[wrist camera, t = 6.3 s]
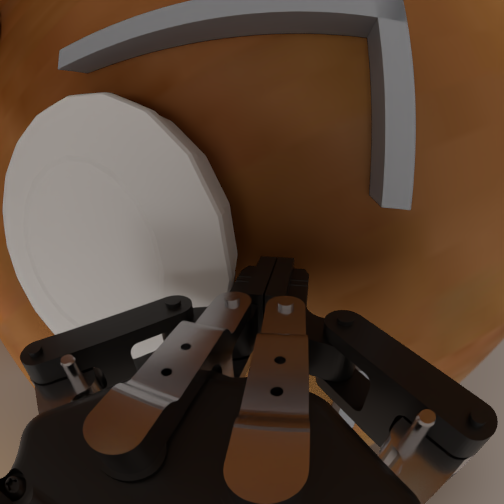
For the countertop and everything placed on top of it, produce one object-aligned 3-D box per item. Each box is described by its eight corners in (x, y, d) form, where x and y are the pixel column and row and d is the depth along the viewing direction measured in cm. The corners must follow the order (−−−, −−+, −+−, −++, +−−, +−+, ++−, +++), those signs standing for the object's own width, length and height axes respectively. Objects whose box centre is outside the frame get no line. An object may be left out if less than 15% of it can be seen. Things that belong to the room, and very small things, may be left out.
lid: (103, 376, 22) (86, 396, 19) (12, 165, 16) (-16, 173, 13) (293, 376, 17) (287, 412, 14) (190, 42, 11) (161, 24, 8)
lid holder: (88, 55, 12) (59, 50, 9) (389, 20, 9) (402, -1, 6) (143, 394, 21) (130, 415, 19) (341, 426, 18) (341, 452, 16)
